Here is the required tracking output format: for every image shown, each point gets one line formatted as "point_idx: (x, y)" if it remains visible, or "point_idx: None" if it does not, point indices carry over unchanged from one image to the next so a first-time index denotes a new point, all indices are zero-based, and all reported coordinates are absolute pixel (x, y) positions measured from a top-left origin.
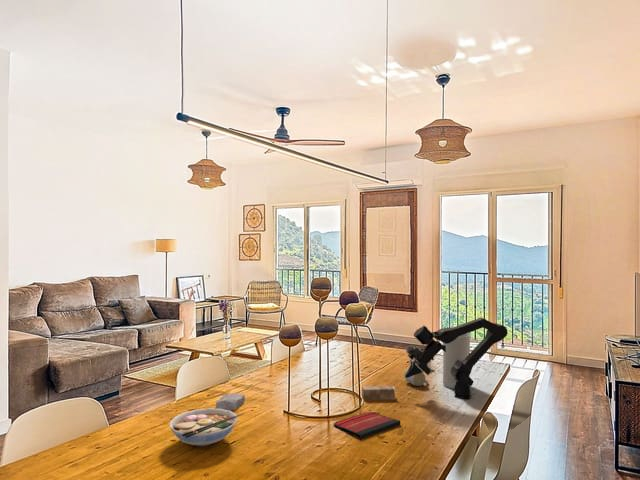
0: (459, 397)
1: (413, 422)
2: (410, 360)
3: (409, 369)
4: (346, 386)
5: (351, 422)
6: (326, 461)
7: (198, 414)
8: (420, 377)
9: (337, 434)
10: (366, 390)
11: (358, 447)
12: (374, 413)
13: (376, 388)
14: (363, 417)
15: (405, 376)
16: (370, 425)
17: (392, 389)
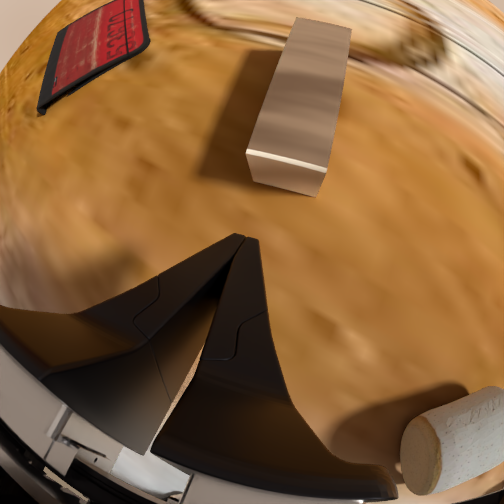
0: (167, 498)
1: (32, 158)
2: (277, 472)
3: (218, 308)
4: (466, 83)
5: (113, 11)
6: (57, 13)
7: None
8: (417, 468)
9: (102, 4)
10: (294, 27)
11: (48, 38)
12: (128, 52)
13: (300, 61)
14: (117, 27)
15: (236, 234)
16: (68, 43)
17: (251, 136)
